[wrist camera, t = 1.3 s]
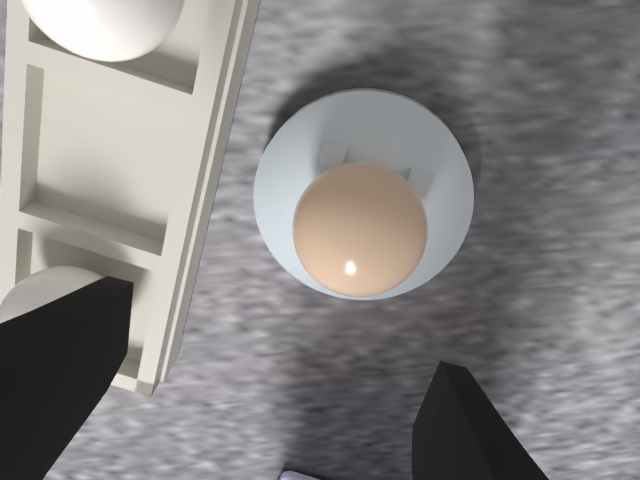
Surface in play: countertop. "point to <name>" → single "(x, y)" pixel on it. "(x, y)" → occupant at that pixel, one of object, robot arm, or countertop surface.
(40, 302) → the egg white far
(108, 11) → the egg white near
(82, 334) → the robot arm
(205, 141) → the carton
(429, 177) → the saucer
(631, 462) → the countertop surface
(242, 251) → the countertop surface
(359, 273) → the egg brown
